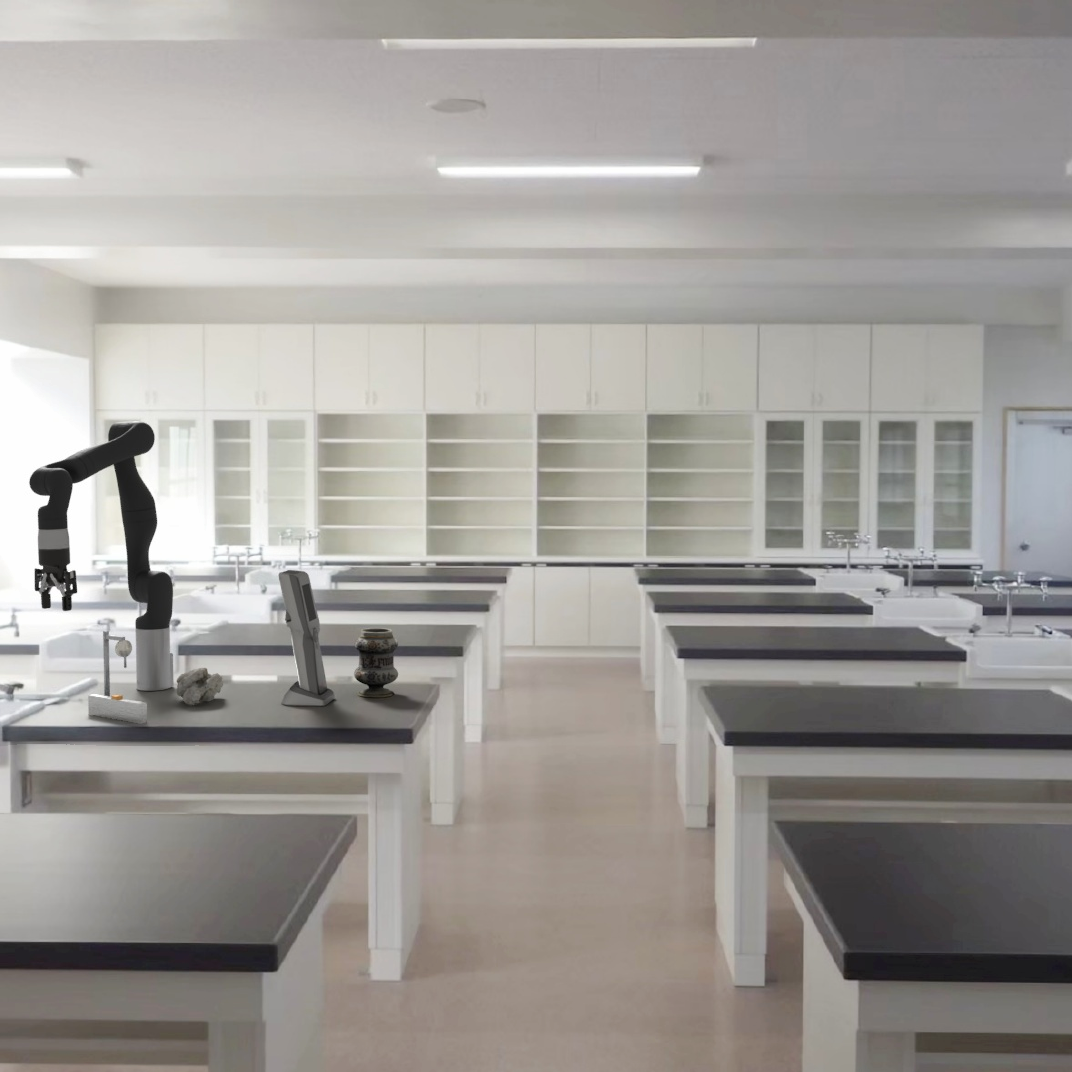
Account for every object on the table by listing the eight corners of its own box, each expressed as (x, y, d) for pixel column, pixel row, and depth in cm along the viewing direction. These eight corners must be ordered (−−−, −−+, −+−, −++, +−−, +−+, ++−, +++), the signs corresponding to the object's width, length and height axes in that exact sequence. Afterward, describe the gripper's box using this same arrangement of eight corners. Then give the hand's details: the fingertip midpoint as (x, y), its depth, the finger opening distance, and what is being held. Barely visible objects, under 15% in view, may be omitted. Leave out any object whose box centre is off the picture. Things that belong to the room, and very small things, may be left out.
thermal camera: (290, 697, 344) (288, 569, 342) (336, 698, 343) (335, 569, 341) (277, 705, 333) (275, 573, 331) (325, 706, 332) (323, 573, 329)
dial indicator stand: (109, 701, 338) (107, 628, 337) (136, 705, 332) (134, 632, 331) (90, 704, 333) (88, 631, 332) (117, 709, 327) (115, 634, 326)
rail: (94, 713, 323) (94, 690, 322) (147, 722, 312) (146, 699, 311) (88, 714, 321) (88, 692, 321) (140, 724, 310) (140, 700, 310)
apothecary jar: (395, 698, 342) (394, 632, 341) (350, 698, 343) (350, 632, 342) (400, 690, 355) (400, 626, 353) (358, 690, 355) (357, 626, 354)
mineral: (236, 687, 346) (219, 655, 347) (218, 695, 329) (200, 662, 329) (197, 708, 347) (180, 676, 347) (177, 718, 330) (159, 684, 330)
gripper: (84, 546, 322) (86, 609, 323) (49, 544, 330) (52, 605, 331) (58, 549, 316) (61, 613, 317) (23, 546, 323) (26, 609, 325)
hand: (56, 609), depth 324 cm, fingers open, 8 cm apart
